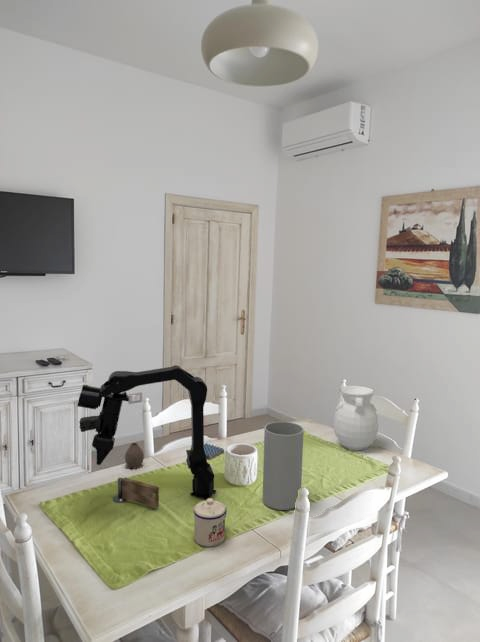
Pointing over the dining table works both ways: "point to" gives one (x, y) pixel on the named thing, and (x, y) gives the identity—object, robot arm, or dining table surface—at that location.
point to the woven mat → (212, 451)
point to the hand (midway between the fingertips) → (99, 458)
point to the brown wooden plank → (140, 492)
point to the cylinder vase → (282, 464)
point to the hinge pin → (119, 493)
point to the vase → (134, 456)
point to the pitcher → (356, 418)
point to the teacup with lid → (209, 523)
